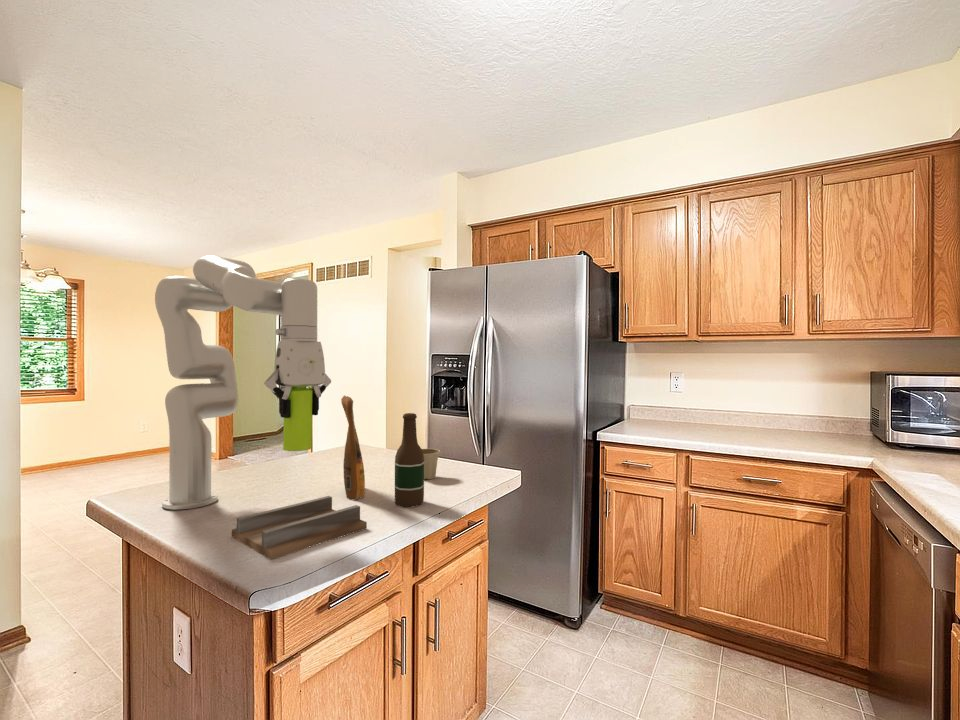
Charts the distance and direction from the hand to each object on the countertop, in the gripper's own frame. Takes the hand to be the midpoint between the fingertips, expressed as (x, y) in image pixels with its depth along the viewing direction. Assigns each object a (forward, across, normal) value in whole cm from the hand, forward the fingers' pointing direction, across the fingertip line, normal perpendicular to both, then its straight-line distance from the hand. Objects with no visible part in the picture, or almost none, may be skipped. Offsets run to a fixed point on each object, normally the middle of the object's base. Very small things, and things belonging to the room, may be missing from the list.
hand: (299, 415), depth 105 cm
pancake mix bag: (+26, +26, +17) cm, 41 cm away
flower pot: (+26, +52, +14) cm, 60 cm away
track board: (+26, 0, -1) cm, 26 cm away
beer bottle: (+26, +30, -3) cm, 40 cm away
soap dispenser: (+8, 0, 0) cm, 8 cm away
